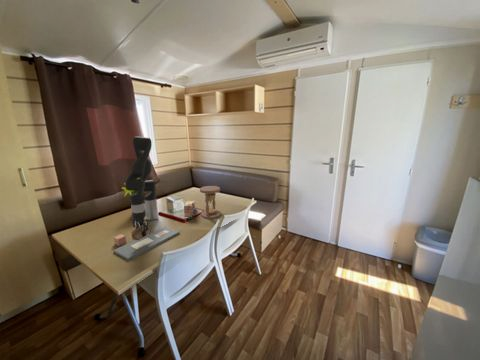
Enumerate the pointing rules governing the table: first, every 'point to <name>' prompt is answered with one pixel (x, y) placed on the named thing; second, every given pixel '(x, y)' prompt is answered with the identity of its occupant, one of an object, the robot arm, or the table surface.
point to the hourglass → (210, 196)
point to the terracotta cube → (120, 240)
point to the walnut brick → (139, 233)
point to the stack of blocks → (189, 208)
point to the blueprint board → (145, 243)
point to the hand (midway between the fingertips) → (141, 234)
